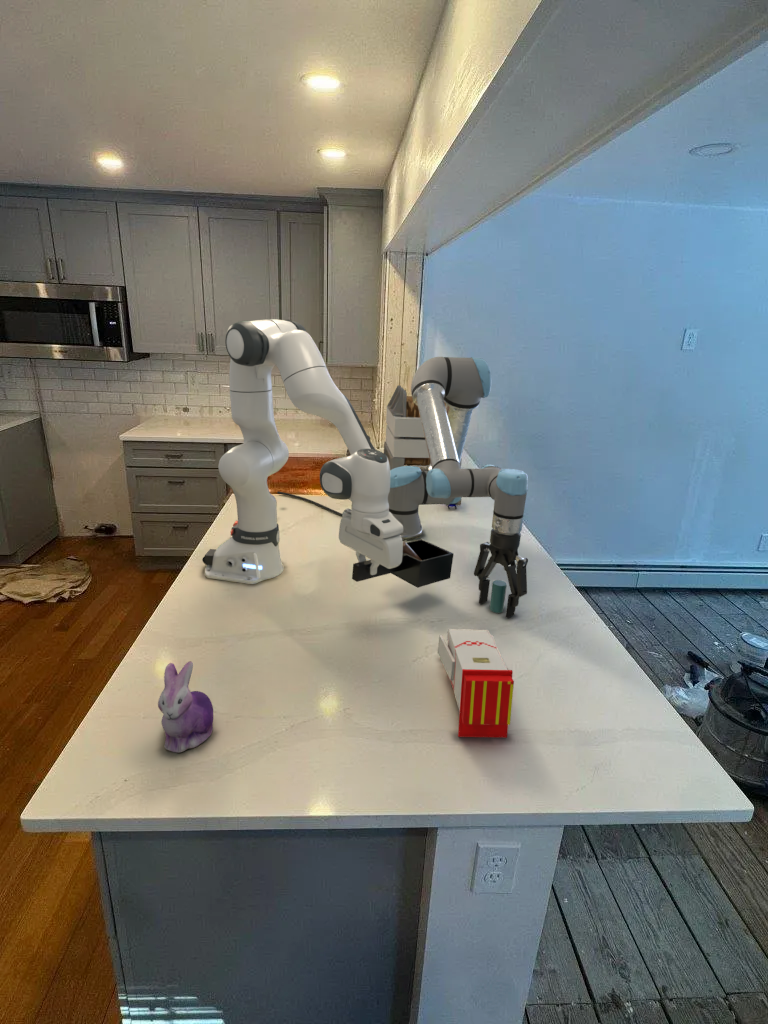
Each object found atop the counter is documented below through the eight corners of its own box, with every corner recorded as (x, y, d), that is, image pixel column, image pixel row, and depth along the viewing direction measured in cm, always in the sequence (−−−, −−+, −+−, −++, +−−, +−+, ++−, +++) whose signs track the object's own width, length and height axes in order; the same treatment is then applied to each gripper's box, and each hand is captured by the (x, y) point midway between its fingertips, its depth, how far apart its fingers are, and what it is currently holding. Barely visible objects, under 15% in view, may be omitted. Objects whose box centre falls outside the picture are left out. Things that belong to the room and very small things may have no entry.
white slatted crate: (382, 463, 289) (386, 382, 275) (445, 464, 293) (451, 384, 279) (390, 482, 257) (394, 392, 243) (460, 483, 261) (468, 394, 247)
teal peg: (486, 608, 152) (490, 582, 149) (495, 604, 154) (498, 578, 152) (497, 614, 150) (500, 587, 147) (505, 610, 152) (509, 583, 149)
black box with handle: (338, 582, 142) (340, 556, 140) (418, 562, 160) (421, 538, 158) (369, 602, 133) (371, 574, 131) (450, 578, 151) (453, 553, 149)
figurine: (165, 763, 97) (157, 690, 92) (158, 725, 105) (150, 656, 100) (221, 746, 101) (217, 675, 96) (210, 711, 109) (205, 644, 104)
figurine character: (461, 514, 225) (456, 498, 239) (463, 497, 222) (458, 482, 235) (444, 513, 225) (440, 498, 239) (446, 496, 222) (442, 481, 235)
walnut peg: (411, 572, 152) (392, 551, 150) (418, 563, 154) (400, 542, 152) (419, 571, 149) (400, 550, 147) (426, 561, 151) (407, 540, 149)
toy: (488, 613, 130) (523, 677, 101) (484, 667, 133) (517, 744, 104) (435, 612, 130) (455, 676, 101) (432, 666, 133) (451, 743, 103)
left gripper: (333, 508, 139) (332, 559, 144) (387, 534, 125) (384, 590, 129) (353, 503, 143) (352, 553, 148) (408, 528, 129) (405, 583, 133)
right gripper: (465, 521, 149) (457, 597, 157) (532, 547, 134) (520, 630, 142) (483, 515, 154) (475, 590, 162) (550, 540, 139) (537, 621, 147)
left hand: (367, 571), depth 139 cm, fingers closed on black box with handle
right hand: (496, 608), depth 152 cm, fingers open, 8 cm apart
